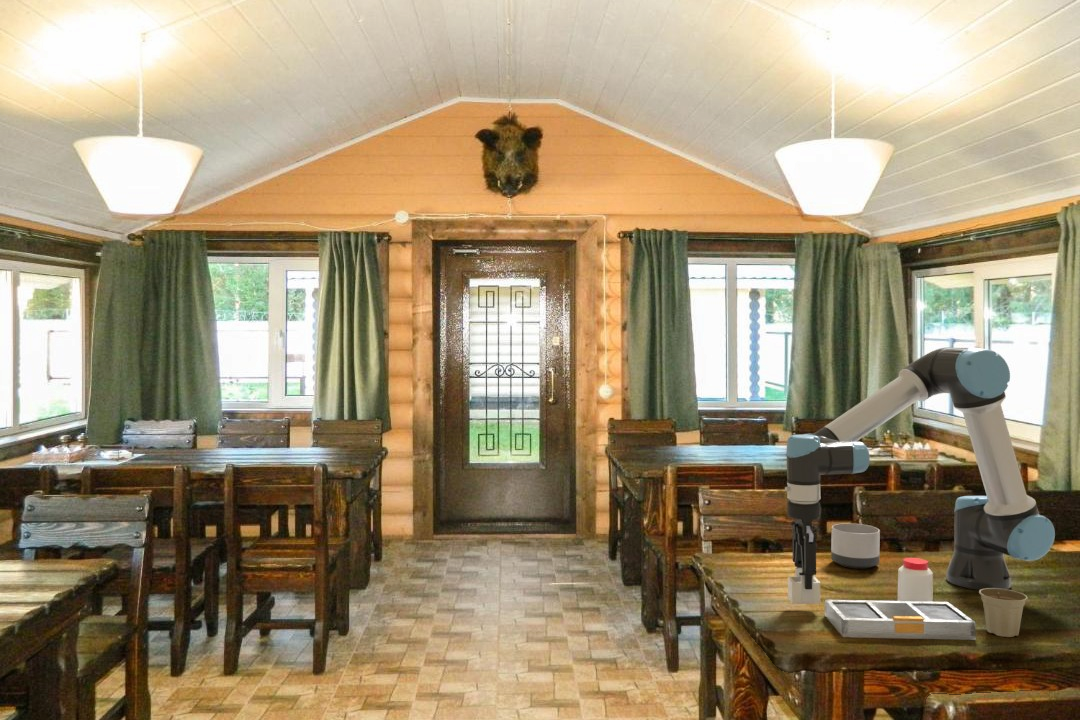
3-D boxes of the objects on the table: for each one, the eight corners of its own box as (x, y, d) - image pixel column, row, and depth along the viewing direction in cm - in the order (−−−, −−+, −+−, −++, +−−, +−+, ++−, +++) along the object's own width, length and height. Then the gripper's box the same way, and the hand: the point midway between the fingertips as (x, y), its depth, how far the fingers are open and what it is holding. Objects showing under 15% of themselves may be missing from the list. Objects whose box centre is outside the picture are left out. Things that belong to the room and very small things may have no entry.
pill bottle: (930, 612, 201) (930, 566, 200) (895, 607, 205) (895, 561, 204) (934, 603, 207) (935, 559, 207) (900, 598, 211) (901, 554, 211)
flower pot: (969, 625, 192) (970, 588, 191) (1008, 624, 192) (1009, 587, 192) (995, 641, 182) (995, 601, 182) (1036, 639, 183) (1037, 600, 183)
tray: (947, 618, 197) (947, 599, 197) (975, 640, 183) (976, 620, 182) (824, 615, 198) (825, 597, 198) (843, 637, 184) (843, 617, 184)
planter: (822, 564, 242) (823, 528, 242) (844, 556, 251) (845, 521, 251) (865, 574, 233) (866, 536, 233) (887, 565, 242) (887, 528, 241)
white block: (815, 597, 204) (815, 576, 203) (820, 603, 199) (820, 581, 199) (787, 597, 204) (787, 576, 204) (792, 603, 199) (792, 581, 199)
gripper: (778, 493, 210) (779, 587, 210) (796, 508, 192) (797, 610, 193) (809, 493, 209) (810, 587, 210) (830, 508, 192) (831, 610, 192)
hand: (804, 598), depth 201 cm, fingers closed on white block, 4 cm apart
